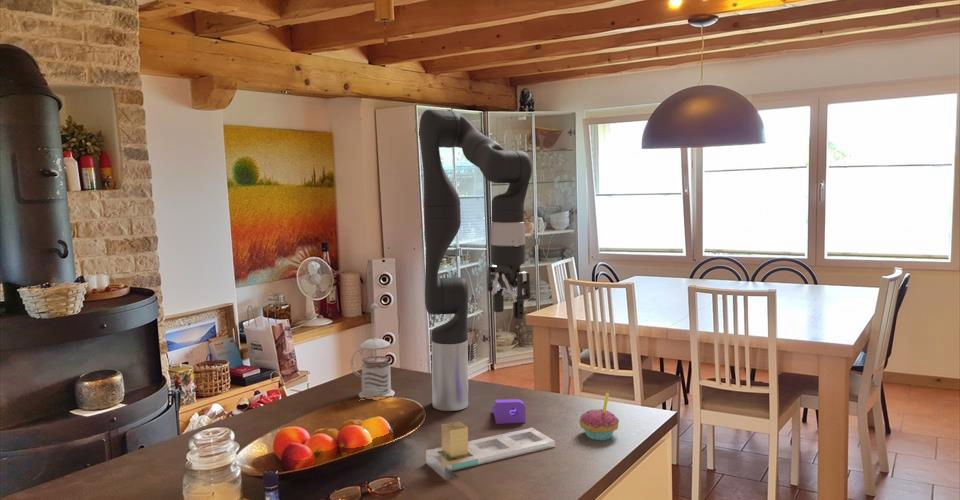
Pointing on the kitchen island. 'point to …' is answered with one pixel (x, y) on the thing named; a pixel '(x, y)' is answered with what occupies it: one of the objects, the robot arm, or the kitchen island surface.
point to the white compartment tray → (490, 450)
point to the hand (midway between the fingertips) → (508, 315)
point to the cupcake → (599, 422)
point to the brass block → (454, 441)
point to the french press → (374, 368)
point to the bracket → (509, 411)
